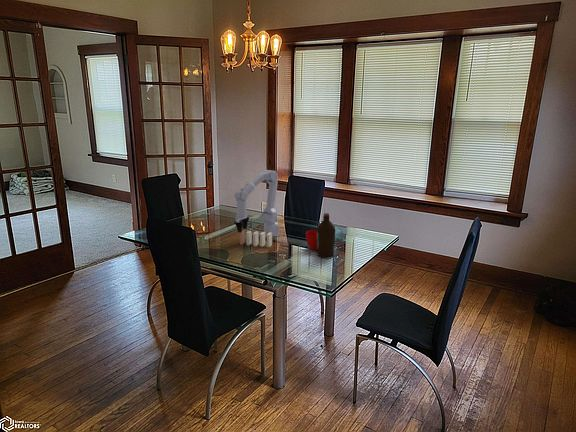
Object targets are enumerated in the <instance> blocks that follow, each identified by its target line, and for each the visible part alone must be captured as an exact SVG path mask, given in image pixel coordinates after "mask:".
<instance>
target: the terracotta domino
mask: <svg viewBox="0 0 576 432" xmlns="http://www.w3.org/2000/svg"><path fill="white" fill-rule="evenodd" d="M245 230H246V229H242V232H241V233H240V232H238V233H239V245H241V246H242V245H244V244H246V231H245Z"/></svg>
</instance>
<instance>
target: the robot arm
mask: <svg viewBox="0 0 576 432" xmlns="http://www.w3.org/2000/svg"><path fill="white" fill-rule="evenodd" d="M278 176H279V174H278V173H277V171H276V170H269V169H265V168H264V169H262V170H261V171H259V174H258V175H257V176H256V177H255V178H254V179H253V180H252V181H251V182H246V183H245V185H244V186H243V187H241V188H240V189H238V190H236V191H235V192H234V198H235V202H236V215H235V221H234V224H235V227H236V230H237V232H238V233H239V232H240V233H241V232H242V230H247V228H248V223H249V220H250V217H249V214H248V213H247V199H248V198H249V195H250V194H251V193H252V192H253V191H255V188H256V186H259V184H261V183H262V182H263V181H265V182H266V183H267V184H268V190H267V198H266V199H267V200H266V205H265V206H266V207H265V208H264V209H263V210H262V214H261V218H260V219H261V220H262V223H263V232H265V239H267V234H268V233H269V232H270V233H272V238H273V237H279V236H280V234H279V229H280V227H279V223H278V222H277V221H278V215H277V214H278V213H277V211H276V209H275V206H276V198H277V190H278V183H279V182H278V181H279V180H278Z"/></svg>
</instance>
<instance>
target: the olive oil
mask: <svg viewBox="0 0 576 432" xmlns="http://www.w3.org/2000/svg"><path fill="white" fill-rule="evenodd" d="M322 217H323V218H322V221H321V222H320V223H318V225H317V227H316V230H317V251H316V252H317V253H316V254H317V257H318V258H321V259H330V258H333V257H334V254H335V241H336V240H335V238H336V227H335V225H334V224H333V223H332V222H331V220H330V213H328V212H327V213H326V212H324V213H323V216H322Z"/></svg>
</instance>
